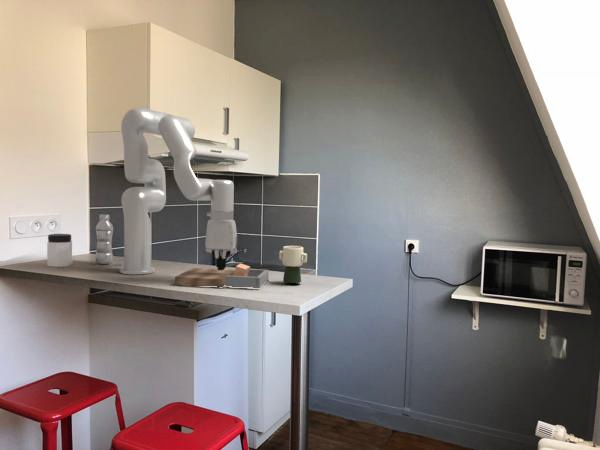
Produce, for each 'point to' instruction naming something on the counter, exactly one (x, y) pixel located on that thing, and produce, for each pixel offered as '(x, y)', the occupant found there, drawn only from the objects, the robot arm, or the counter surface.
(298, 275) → the character mug
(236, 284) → the box
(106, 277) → the counter surface
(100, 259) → the plastic bottle
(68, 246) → the jar
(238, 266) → the orange block
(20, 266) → the counter surface
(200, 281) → the platform
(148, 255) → the robot arm
